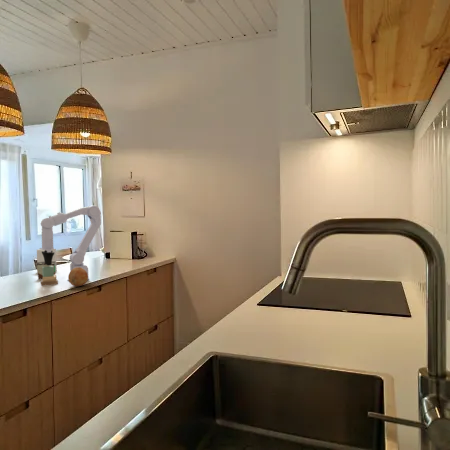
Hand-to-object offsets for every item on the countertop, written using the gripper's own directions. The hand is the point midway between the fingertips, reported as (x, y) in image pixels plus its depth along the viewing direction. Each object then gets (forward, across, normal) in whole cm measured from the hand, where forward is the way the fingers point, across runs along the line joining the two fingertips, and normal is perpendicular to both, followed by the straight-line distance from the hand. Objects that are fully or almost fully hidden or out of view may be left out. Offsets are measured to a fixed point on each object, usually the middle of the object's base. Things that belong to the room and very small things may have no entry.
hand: (48, 264), depth 216 cm
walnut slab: (+11, +2, 0) cm, 11 cm away
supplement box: (+11, -50, +4) cm, 51 cm away
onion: (+10, +19, +12) cm, 25 cm away
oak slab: (+9, +2, 0) cm, 9 cm away
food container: (+11, -18, +2) cm, 21 cm away
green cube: (+6, +2, 0) cm, 6 cm away
